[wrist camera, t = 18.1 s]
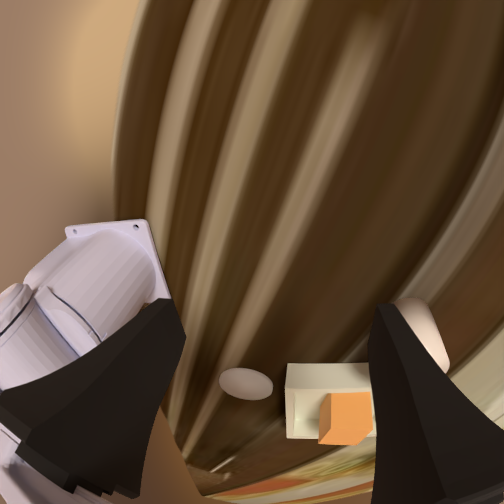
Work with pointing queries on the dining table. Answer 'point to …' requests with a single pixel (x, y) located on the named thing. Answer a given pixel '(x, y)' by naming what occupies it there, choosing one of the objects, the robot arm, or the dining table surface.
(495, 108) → the dining table surface
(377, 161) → the dining table surface
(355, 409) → the block
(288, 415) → the tray
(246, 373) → the grey flat disc
